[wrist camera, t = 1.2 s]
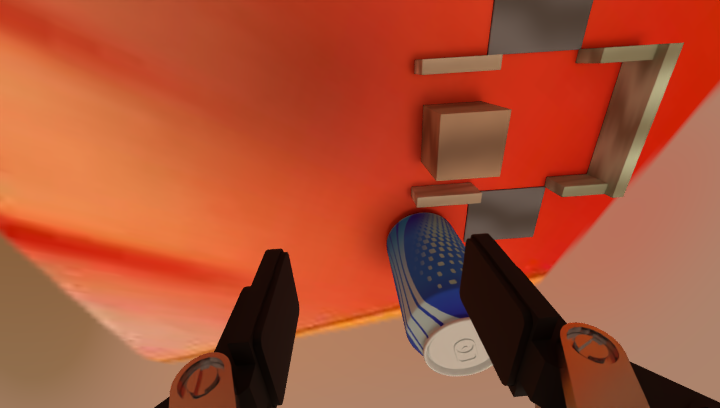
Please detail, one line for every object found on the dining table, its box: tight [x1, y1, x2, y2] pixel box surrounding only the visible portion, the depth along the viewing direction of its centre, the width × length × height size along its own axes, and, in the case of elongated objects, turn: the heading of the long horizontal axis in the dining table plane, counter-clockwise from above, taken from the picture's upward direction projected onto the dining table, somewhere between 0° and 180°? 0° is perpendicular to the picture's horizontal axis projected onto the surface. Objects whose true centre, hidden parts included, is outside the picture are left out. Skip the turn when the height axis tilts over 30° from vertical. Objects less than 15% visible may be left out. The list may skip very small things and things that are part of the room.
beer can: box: [387, 213, 493, 376], centre depth 29 cm, size 8×8×16 cm
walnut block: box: [421, 101, 511, 181], centre depth 28 cm, size 6×6×6 cm
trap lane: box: [411, 0, 684, 242], centre depth 29 cm, size 28×22×4 cm
